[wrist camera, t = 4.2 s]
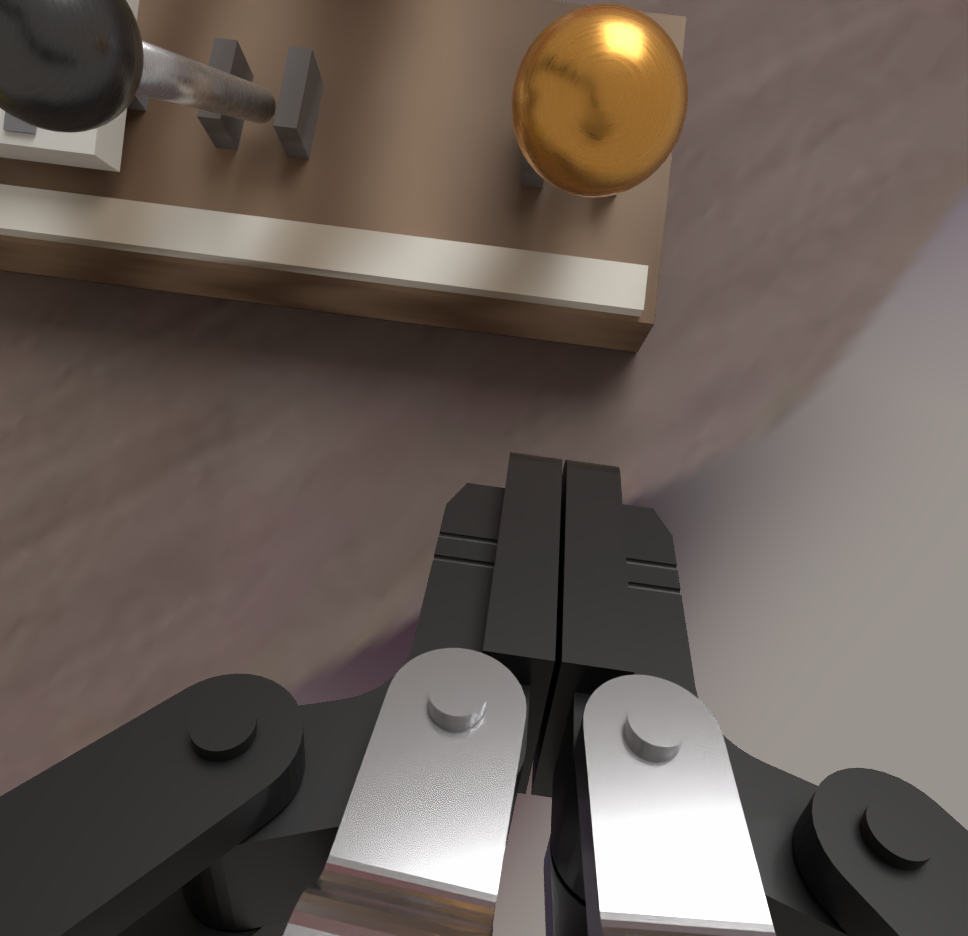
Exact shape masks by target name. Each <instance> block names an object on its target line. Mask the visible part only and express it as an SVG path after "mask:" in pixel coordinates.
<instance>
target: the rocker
mask: <svg viewBox="0 0 968 936" xmlns="http://www.w3.org/2000/svg"><path fill="white" fill-rule="evenodd" d="M126 1H127V3H128V4H129V6H130V8H131V10H132V12H133V14H134V16H135V18H136V21H137V15H138V6H139V0H126ZM126 113H127V108H126V109H125V111H123V112H122V113H121V114H120V115H119V116H118V117H117V118H115V119H114V120H112V121H111V122H109V123H108V124H106V125H103V126H101V127H99V128H96V129H92V130H88V131H84V132H75V133H67V132H55V131H50V130H45V129H41V128H38V127H35V126H32V125H29V124H27V123H25V122H23V121H21V120H19V119H17V118H15V117H13V116H11V115H10V114H8V113H7V112H5V111H4V110H2V109H1V108H0V157H2V158H10V159H18V160H26V161H34V162H42V163H50V164H58V165H66V166H74V167H82V168H90V169H98V170H106V171H114V172H120V166H121V157H122V148H123V139H124V130H125V121H126Z"/></svg>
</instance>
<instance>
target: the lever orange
mask: <svg viewBox="0 0 968 936" xmlns="http://www.w3.org/2000/svg"><path fill="white" fill-rule="evenodd" d="M687 105H688V84H687V76H686V72H685V68H684V64H683V61H682V58H681V56H680V53H679V51H678V49H677V47H676V46H675V44H674V42H673V40H672V39H671V38H670V36H669V35H668V34H667V32H666V31H665V30H664V29H663V28H662V27H661V26H660V25H659V24H658V23H657V22H656V21H654V20H653V19H652V18H650V17H649V16H647V15H646V14H644V13H642V12H640V11H638V10H636V9H633V8H630V7H627V6H623V5H618V4H594V5H588V6H584V7H580V8H577V9H575V10H572V11H570V12H568V13H566V14H564V15H562V16H561V17H559V18H557V19H556V20H555V21H553V22H552V23H551V24H549V25H548V26H547V27H546V28H545V29H544V30H543V31H542V32H541V33H540V34H539V35H538V36H537V37H536V39H535V40H534V41H533V42H532V44H531V45H530V46H529V48H528V50H527V52H526V53H525V55H524V57H523V59H522V61H521V63H520V66H519V68H518V71H517V74H516V78H515V81H514V86H513V92H512V103H511V112H512V122H513V128H514V133H515V136H516V139H517V142H518V145H519V147H520V149H521V151H522V153H523V155H524V157H525V158H526V160H527V162H528V163H529V164H530V166H531V167H532V168H533V169H534V171H535V172H536V173H537V174H538V175H539V176H540V177H542V178H543V179H544V180H545V181H546V182H548V183H549V184H551V185H552V186H554V187H555V188H557V189H559V190H561V191H563V192H566V193H569V194H572V195H576V196H581V197H592V198H597V197H607V196H612V195H616V194H619V193H622V192H625V191H627V190H630V189H631V188H633V187H635V186H637V185H639V184H640V183H642V182H643V181H645V180H646V179H647V178H649V177H650V176H651V175H652V174H653V173H654V172H655V171H657V170H658V169H659V167H660V166H661V165H662V164H663V163H664V162H665V161H666V159H667V158H668V156H669V155H670V153H671V152H672V150H673V149H674V147H675V145H676V143H677V141H678V139H679V137H680V134H681V131H682V129H683V126H684V122H685V118H686V113H687Z"/></svg>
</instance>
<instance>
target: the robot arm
mask: <svg viewBox="0 0 968 936" xmlns="http://www.w3.org/2000/svg"><path fill="white" fill-rule="evenodd" d="M676 565H677V564H676V558H675V551H674V544H673V538H672V535H671V533H670V532H669V531H668V529H667V528H666V526H665V525H664V523H663V522H662V521H661V520H660V518H659V516H658V515H657V514H656V512H655V511H654V509H652V508H645V507H637V506H630V505H623V504H622V492H621V478H620V469H619V467H615V466H607V465H600V464H593V463H586V462H578V461H571V460H566V461H565V464H564V468H563V473H562V459H555V458H548V457H540V456H533V455H526V454H519V453H511V452H510V458H509V465H508V472H507V479H506V487H505V488H499V487H492V486H485V485H477V484H470V483H467V484H466V485H465V486H464V487H463V488H462V489H461V490H460V491H459V492H458V493H457V494H456V495H455V496H454V497H453V498H452V499H451V500H450V501H449V502H448V503H447V504H446V508H445V512H444V516H443V521H442V525H441V529H440V535H439V537H438V542H437V546H436V550H435V554H434V560H433V562H432V567H431V571H430V575H429V579H428V583H427V588H426V592H425V596H424V600H423V604H422V609H421V613H420V617H419V621H418V625H417V629H416V634H415V638H414V642H413V646H412V649H411V652H410V655H409V657H408V658H407V661H406V662H405V664H404V665H403V666H402V668H401V669H400V670H399V671H398V672H397V674H395V675H394V676H393V677H392V678H391V679H390V680H389V681H387V682H386V683H384V684H383V685H381V686H380V687H378V688H376V689H374V690H372V691H370V692H368V693H365V694H362V695H359V696H356V697H352V698H348V699H343V700H336V701H329V702H322V703H315V704H308V705H301V706H298V704H297V703H296V701H295V699H294V698H293V697H292V695H291V694H290V693H289V692H288V691H287V690H286V689H285V688H283V687H282V686H281V685H279V684H277V683H276V682H274V681H272V680H269V679H267V678H264V677H261V676H256V675H251V674H228V675H221V676H217V677H212V678H209V679H206V680H203V681H201V682H198V683H196V684H194V685H192V686H190V687H188V688H186V689H184V690H183V691H181V692H179V693H178V694H176V695H174V696H172V697H171V698H169V699H167V700H166V701H164V702H162V703H160V704H159V705H157V706H155V707H154V708H152V709H150V710H148V711H147V712H145V713H143V714H141V715H140V716H138V717H136V718H135V719H133V720H131V721H129V722H128V723H126V724H124V725H123V726H121V727H119V728H117V729H116V730H114V731H112V732H111V733H109V734H107V735H105V736H104V737H102V738H100V739H99V740H97V741H95V742H93V743H92V744H90V745H88V746H86V747H85V748H83V749H81V750H80V751H78V752H76V753H74V754H73V755H71V756H69V757H68V758H66V759H64V760H62V761H61V762H59V763H57V764H56V765H54V766H52V767H50V768H49V769H47V770H45V771H43V772H42V773H40V774H38V775H37V776H35V777H33V778H31V779H30V780H28V781H26V782H25V783H23V784H21V785H19V786H18V787H16V788H14V789H13V790H11V791H9V792H7V793H6V794H4V795H2V796H1V797H0V936H282V935H283V936H492V932H493V919H494V912H495V905H496V899H497V893H498V887H499V881H500V874H501V868H502V862H503V856H504V850H505V846H506V843H507V839H508V834H509V829H510V825H511V820H512V815H513V811H514V805H515V801H516V797H517V793H523V794H526V789H527V785H528V781H529V776H530V771H531V767H532V762H533V774H532V791H531V794H532V795H539V796H546V797H552V816H551V835H550V839H549V842H548V846H547V850H546V854H545V858H544V892H545V922H546V936H968V831H967V830H966V829H965V828H964V827H963V826H962V825H961V824H960V823H958V822H957V821H956V820H955V819H954V818H953V817H952V816H950V815H949V814H948V813H947V812H946V811H945V810H944V809H943V808H941V807H940V806H939V805H938V804H937V803H936V802H935V801H933V800H932V799H931V798H929V796H927V795H926V794H925V793H923V792H922V791H920V790H919V789H917V788H916V787H914V786H913V785H911V784H909V783H907V782H905V781H903V780H902V779H900V778H898V777H895V776H892V775H890V774H887V773H884V772H880V771H877V770H872V769H864V768H848V769H844V770H840V771H837V772H835V773H833V774H831V775H829V776H828V777H827V778H825V779H824V780H823V781H822V782H821V783H820V785H819V786H817V785H814V784H812V783H810V782H807V781H805V780H803V779H801V778H798V777H796V776H794V775H792V774H789V773H787V772H785V771H782V770H780V769H778V768H776V767H773V766H771V765H769V764H766V763H764V762H762V761H760V760H758V759H756V758H754V757H752V756H750V755H749V754H747V753H746V752H744V751H743V750H741V749H739V748H738V747H737V746H735V745H734V744H733V743H732V742H731V741H729V740H728V739H727V738H726V737H725V736H724V735H723V734H722V732H721V729H720V726H719V724H718V723H717V721H716V719H715V717H714V716H713V715H712V713H711V712H710V711H709V709H708V708H707V707H706V706H705V705H704V704H703V703H702V702H701V701H700V700H699V699H698V696H697V692H696V688H695V682H694V676H693V669H692V662H691V656H690V649H689V642H688V636H687V630H686V623H685V617H684V610H683V603H682V596H681V595H680V583H679V577H678V571H677V570H676Z"/></svg>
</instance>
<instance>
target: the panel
mask: <svg viewBox="0 0 968 936" xmlns="http://www.w3.org/2000/svg"><path fill="white" fill-rule="evenodd" d="M584 6H588V5H579V4H571V3H562V2H553V1H545V0H139V6H138V15H137V24H138V27H139V30H140V34H141V38H142V41H145V42H147V43H150V44H153V45H155V46H158V47H161V48H163V49H166V50H168V51H171V52H174V53H176V54H179V55H182V56H184V57H187V58H189V59H192V60H195V61H197V62H200V63H203V64H205V65H208V66H210V67H213V68H216V69H218V70H221V71H224V72H226V73H229V74H231V75H234V76H237V77H239V78H242V79H245V80H247V81H250V82H252V83H255V84H258V85H260V86H263V87H265V88H267V89H268V90H269V91H270V92H271V93H272V95H273V97H274V99H275V103H276V110H275V113H274V116H273V117H272V118H271V120H269V121H268V122H266V123H263V124H258V123H254V122H249V121H245V120H241V119H237V118H233V117H229V116H225V115H221V114H217V113H213V112H209V111H205V110H201V109H196V108H192V107H188V106H184V105H180V104H176V103H172V102H168V101H164V100H160V99H156V98H152V97H148V96H143V95H139V94H136V95H135V96H134V98H133V100H132V102H131V103H130V104H129V106H128V107H127V113H126V121H125V130H124V139H123V148H122V157H121V166H120V172H114V171H106V170H98V169H90V168H82V167H74V166H66V165H58V164H50V163H42V162H34V161H26V160H18V159H10V158H2V157H0V270H6V271H13V272H21V273H29V274H37V275H44V276H52V277H60V278H67V279H75V280H83V281H91V282H98V283H106V284H114V285H121V286H129V287H137V288H145V289H152V290H160V291H168V292H175V293H183V294H191V295H199V296H206V297H214V298H222V299H229V300H237V301H245V302H253V303H260V304H268V305H276V306H283V307H291V308H299V309H307V310H314V311H322V312H330V313H337V314H345V315H353V316H361V317H368V318H376V319H384V320H392V321H399V322H407V323H415V324H422V325H430V326H438V327H446V328H453V329H461V330H469V331H476V332H484V333H492V334H500V335H507V336H515V337H523V338H530V339H538V340H546V341H554V342H561V343H569V344H577V345H584V346H592V347H600V348H608V349H615V350H623V351H631V352H638V350H639V349H640V347H641V345H642V344H643V342H644V340H645V339H646V337H647V335H648V334H649V332H650V330H651V329H652V327H653V325H654V321H655V311H656V302H657V292H658V283H659V273H660V264H661V254H662V245H663V235H664V225H665V216H666V206H667V197H668V187H669V178H670V168H671V159H672V152H671V153H670V155H669V156H668V158H667V159H666V161H665V162H664V163H663V164H662V165H661V166H660V167H659V169H658V170H657V171H655V172H654V173H653V174H652V175H651V176H650V177H649V178H647V179H646V180H645V181H643V182H642V183H640V184H639V185H637V186H635V187H633V188H631V189H630V190H627V191H625V192H622V193H619V194H616V195H612V196H607V197H597V198H592V197H581V196H576V195H572V194H569V193H566V192H563V191H561V190H559V189H557V188H555V187H554V186H552V185H551V184H549V183H548V182H546V181H545V180H544V179H543V178H542V177H540V176H539V175H538V174H537V173H536V172H535V171H534V169H533V168H532V167H531V166H530V164H529V163H528V162H527V160H526V158H525V157H524V155H523V153H522V151H521V149H520V147H519V145H518V142H517V139H516V136H515V133H514V128H513V122H512V112H511V103H512V92H513V86H514V81H515V78H516V74H517V71H518V68H519V66H520V63H521V61H522V59H523V57H524V55H525V53H526V52H527V50H528V48H529V46H530V45H531V44H532V42H533V41H534V40H535V39H536V37H537V36H538V35H539V34H540V33H541V32H542V31H543V30H544V29H545V28H546V27H547V26H548V25H549V24H551V23H552V22H553V21H555V20H556V19H557V18H559V17H561V16H562V15H564V14H566V13H568V12H570V11H572V10H575V9H577V8H580V7H584ZM642 13H644V14H646V15H647V16H649V17H650V18H652V19H653V20H654V21H656V22H657V23H658V24H659V25H660V26H661V27H662V28H663V29H664V30H665V31H666V32H667V34H668V35H669V36H670V38H671V39H672V40H673V42H674V44H675V46H676V47H677V49H678V51H679V53H680V56H681V58H682V54H683V45H684V35H685V26H686V17H683V16H674V15H666V14H657V13H649V12H642Z"/></svg>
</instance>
